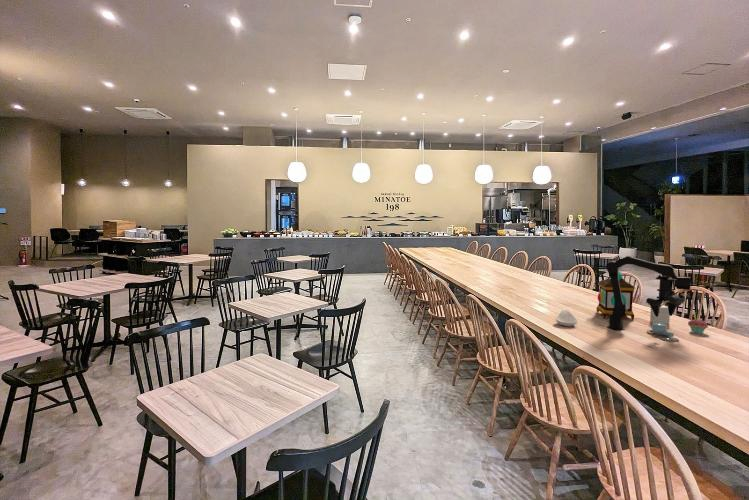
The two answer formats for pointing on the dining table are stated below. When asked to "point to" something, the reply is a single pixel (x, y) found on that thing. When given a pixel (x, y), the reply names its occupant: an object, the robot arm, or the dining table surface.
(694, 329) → the cupcake
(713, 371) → the dining table surface
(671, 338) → the coaster
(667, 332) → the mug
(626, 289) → the decorative lantern
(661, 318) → the small box
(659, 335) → the holder ring
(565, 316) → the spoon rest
